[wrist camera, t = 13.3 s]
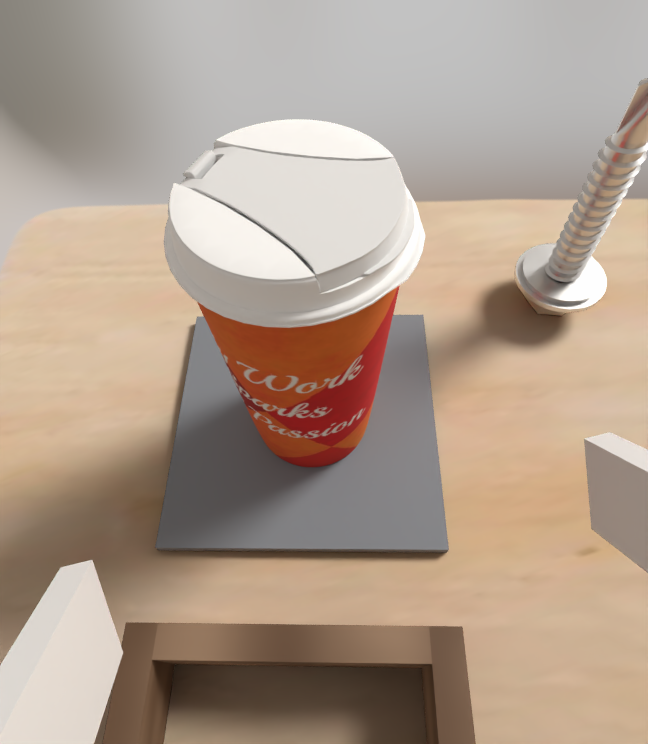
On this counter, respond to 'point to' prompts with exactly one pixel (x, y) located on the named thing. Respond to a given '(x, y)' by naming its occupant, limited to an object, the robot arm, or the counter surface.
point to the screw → (587, 223)
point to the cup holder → (286, 648)
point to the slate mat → (306, 484)
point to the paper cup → (297, 273)
